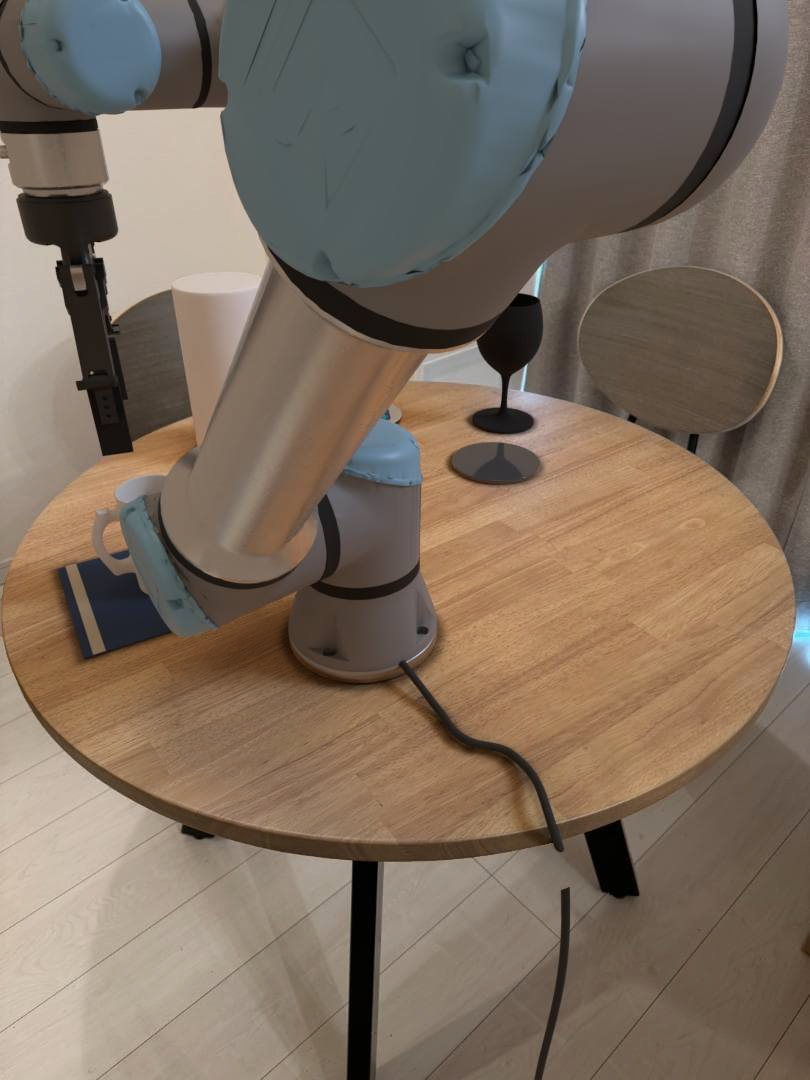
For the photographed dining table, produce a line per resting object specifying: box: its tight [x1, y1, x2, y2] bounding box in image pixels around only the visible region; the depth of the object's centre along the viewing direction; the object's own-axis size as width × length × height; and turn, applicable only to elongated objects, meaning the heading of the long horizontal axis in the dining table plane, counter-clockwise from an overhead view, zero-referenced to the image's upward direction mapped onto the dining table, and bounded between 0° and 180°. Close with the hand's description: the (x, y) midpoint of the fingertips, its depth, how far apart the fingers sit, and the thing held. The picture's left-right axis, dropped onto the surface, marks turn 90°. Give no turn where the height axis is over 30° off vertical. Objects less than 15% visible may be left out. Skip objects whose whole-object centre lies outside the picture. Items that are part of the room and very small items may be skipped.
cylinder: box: [170, 271, 262, 447], centre depth 108 cm, size 12×12×25 cm
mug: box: [91, 473, 168, 595], centre depth 80 cm, size 10×7×12 cm, turn 121°
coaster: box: [451, 441, 541, 485], centre depth 110 cm, size 13×13×1 cm
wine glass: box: [471, 292, 544, 435], centre depth 118 cm, size 10×10×20 cm
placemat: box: [56, 549, 173, 660], centre depth 84 cm, size 18×18×1 cm
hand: (116, 424), depth 73 cm, fingers open, 13 cm apart
